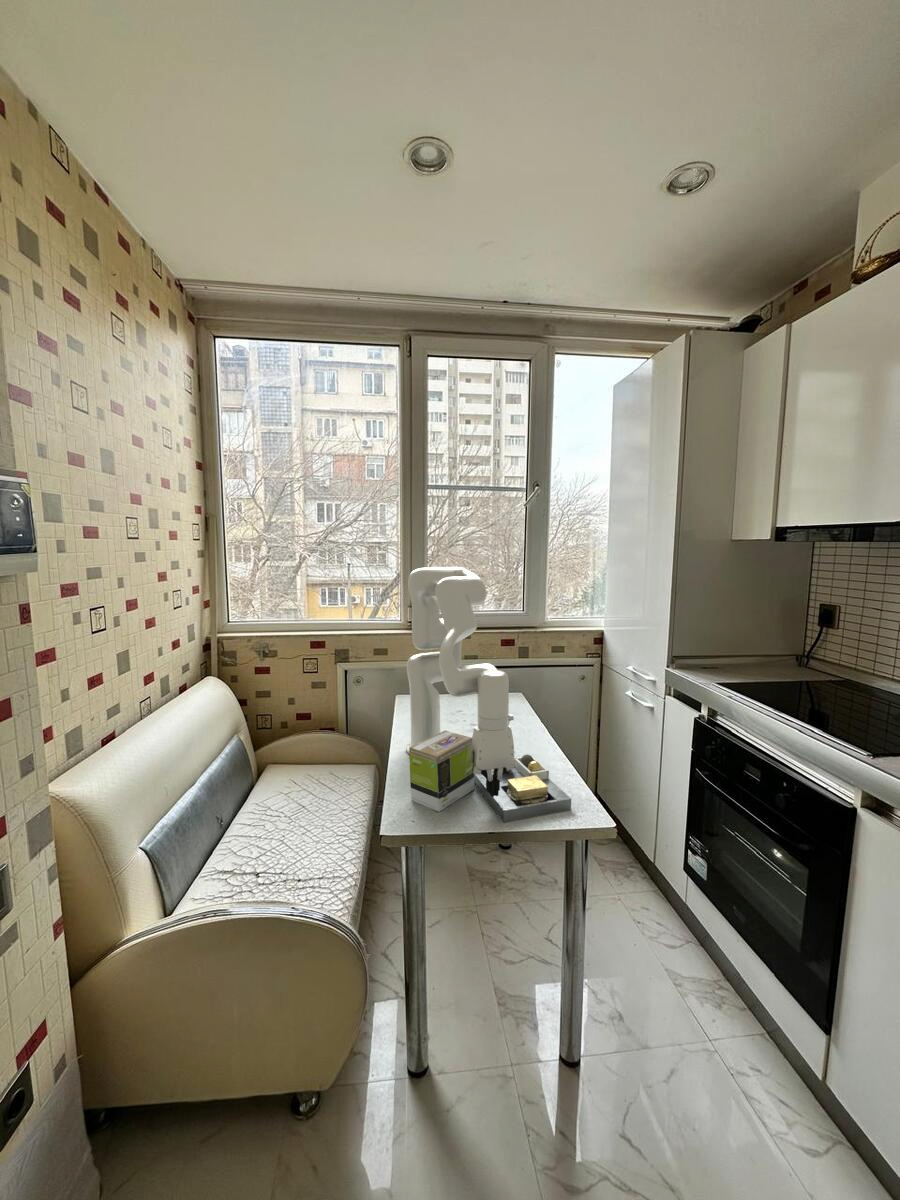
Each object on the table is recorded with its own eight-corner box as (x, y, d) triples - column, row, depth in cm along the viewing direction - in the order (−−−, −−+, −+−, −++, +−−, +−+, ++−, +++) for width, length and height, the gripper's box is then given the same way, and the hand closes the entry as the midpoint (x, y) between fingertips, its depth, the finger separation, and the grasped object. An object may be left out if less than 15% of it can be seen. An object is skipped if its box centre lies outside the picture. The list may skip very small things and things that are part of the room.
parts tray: (514, 765, 141) (514, 758, 140) (531, 762, 142) (531, 755, 142) (530, 781, 131) (530, 773, 131) (548, 778, 132) (548, 770, 132)
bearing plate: (472, 781, 138) (472, 770, 137) (531, 772, 143) (531, 762, 143) (503, 822, 117) (503, 810, 116) (571, 810, 122) (571, 798, 122)
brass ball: (525, 771, 136) (525, 759, 135) (537, 770, 137) (537, 758, 136) (531, 777, 132) (531, 764, 132) (543, 775, 133) (543, 763, 133)
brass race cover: (507, 788, 127) (507, 779, 126) (535, 783, 129) (535, 775, 129) (518, 800, 121) (518, 791, 120) (547, 795, 123) (547, 786, 123)
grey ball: (518, 765, 140) (519, 753, 139) (530, 763, 141) (530, 751, 140) (524, 770, 136) (524, 758, 136) (535, 768, 137) (536, 756, 137)
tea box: (446, 779, 139) (446, 728, 137) (475, 790, 133) (475, 737, 131) (409, 800, 127) (408, 745, 126) (438, 813, 121) (438, 755, 120)
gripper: (514, 713, 126) (514, 782, 128) (459, 719, 121) (459, 791, 123) (527, 723, 119) (527, 796, 120) (468, 730, 114) (469, 806, 116)
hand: (492, 793), depth 122 cm, fingers closed
